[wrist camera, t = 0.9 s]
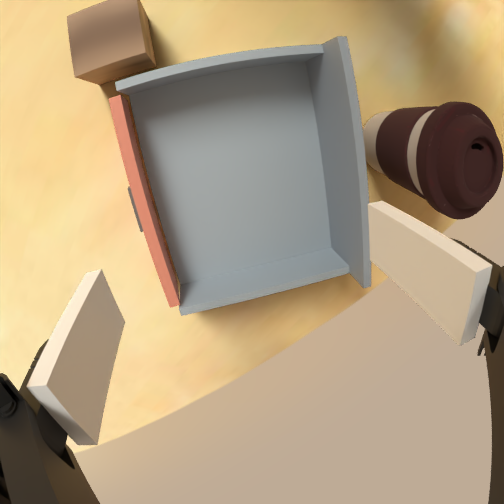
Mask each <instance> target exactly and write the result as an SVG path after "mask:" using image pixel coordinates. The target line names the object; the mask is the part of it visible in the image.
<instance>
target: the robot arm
mask: <svg viewBox="0 0 504 504" xmlns="http://www.w3.org/2000/svg"><path fill="white" fill-rule="evenodd" d="M368 219H369V244H370V261H372V262H373V263H374V264H375V265H376V266H377V267H378V268H379V269H380V270H382V271H383V272H384V273H385V274H386V275H387V276H388V277H389V278H390V279H391V280H392V281H393V282H394V283H396V284H397V285H398V286H399V287H400V288H401V289H402V290H403V291H404V292H405V293H406V294H407V295H408V296H409V297H410V298H411V299H412V300H414V301H415V302H416V303H417V304H418V305H419V306H420V307H421V308H422V309H423V310H424V311H425V312H426V313H427V314H428V315H429V316H430V317H431V318H432V319H433V320H434V321H435V322H436V323H437V324H438V325H439V326H440V327H441V328H442V329H443V330H444V331H445V332H446V333H447V334H448V335H449V336H450V337H451V338H452V339H453V340H454V341H455V342H456V344H458V346H461V345H463V344H464V343H466V342H468V341H470V340H471V339H473V338H475V335H476V332H477V329H478V325H479V323H480V324H481V325H482V326H483V327H484V328H485V331H484V334H483V337H482V340H481V344H480V346H479V349H478V356H480V354H481V352H482V349H483V348H485V354H484V355H485V356H486V361H487V369H488V377H489V387H490V400H491V415H492V416H491V417H492V465H491V482H490V494H489V502H488V504H504V266H503V267H500V266H499V265H497V264H496V263H494V262H492V261H491V260H489V259H487V258H486V257H485V256H483V255H481V254H480V253H477V252H476V251H475V250H474V249H472V248H469V246H467V245H465V244H464V243H462V242H461V241H458V240H455V239H452V238H449V237H447V236H445V235H443V234H442V233H440V232H438V231H437V230H435V229H433V228H431V227H430V226H428V225H426V224H424V223H423V222H421V221H419V220H417V219H416V218H414V217H412V216H410V215H408V214H406V213H405V212H403V211H401V210H399V209H397V208H395V207H393V206H392V205H390V204H388V203H386V202H384V201H378V202H374V203H369V204H368ZM124 324H125V321H124V318H123V316H122V314H121V312H120V310H119V308H118V306H117V304H116V301H115V299H114V297H113V295H112V292H111V290H110V288H109V286H108V283H107V281H106V279H105V276H104V274H103V271H102V269H99V270H96V271H92V272H88V273H86V274H85V276H84V278H83V279H82V281H81V283H80V284H79V286H78V288H77V289H76V291H75V293H74V295H73V296H72V298H71V300H70V301H69V303H68V305H67V307H66V309H65V310H64V312H63V314H62V316H61V318H60V319H59V321H58V323H57V325H56V327H55V329H54V331H53V333H52V334H51V336H50V338H49V339H48V340H47V341H46V342H45V343H44V344H43V345H42V346H41V347H40V349H39V350H38V352H37V354H36V356H35V358H34V359H35V361H33V362H32V364H31V366H30V367H31V369H29V371H28V373H27V375H26V377H25V379H24V381H23V383H22V386H21V388H20V390H19V391H18V390H17V389H16V387H15V386H14V385H13V384H12V382H11V381H10V380H9V378H8V377H7V376H6V375H5V374H3V373H0V504H100V503H99V501H98V499H97V498H96V496H95V494H94V492H93V491H92V489H91V487H90V485H89V484H88V482H87V480H86V478H85V476H84V474H83V472H82V470H81V468H80V466H79V464H78V463H77V460H76V458H75V456H74V454H73V452H72V450H71V449H70V448H69V446H67V445H66V440H67V435H69V436H70V438H71V439H72V440H73V441H74V442H75V443H76V444H77V445H98V439H99V433H100V428H101V422H102V417H103V412H104V407H105V402H106V397H107V393H108V388H109V383H110V379H111V375H112V370H113V366H114V362H115V358H116V354H117V350H118V346H119V342H120V339H121V335H122V331H123V327H124Z"/></svg>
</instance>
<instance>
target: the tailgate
mask: <svg viewBox="0 0 504 504" xmlns="http://www.w3.org/2000/svg"><path fill="white" fill-rule="evenodd" d="M109 103H110V108H111V112H112V117H113V121H114V126H115V130H116V134H117V139H118V143H119V147H120V151H121V155H122V159H123V162H124V166H125V170H126V174H127V177H128V181H129V185H130V187H128V191H129V195H130V198H131V202H132V205H133V208H134V212H135V215H136V218H137V221H138V225H139V228H140V231H141V232H143V231H144V235H145V238H146V241H147V244H148V247H149V250H150V253H151V256H152V259H153V262H154V265H155V267H156V270H157V273H158V276H159V279H160V282H161V284H162V287H163V290H164V293H165V295H166V298H167V301H168V303H169V306H170V307H174V306H177V305H180V301H179V293H178V286H177V280H176V277H175V274H174V271H173V268H172V265H171V262H170V258H169V255H168V252H167V249H166V246H165V243H164V239H163V236H162V233H161V230H160V226H159V223H158V220H157V216H156V213H155V209H154V206H153V202H152V199H151V195H150V192H149V188H148V184H147V180H146V177H145V173H144V169H143V165H142V161H141V157H140V153H139V149H138V145H137V141H136V137H135V133H134V128H133V124H132V120H131V115H130V111H129V106H128V101H127V100H126V99H125V98H124V97H122V96H121V95H118V96H115V97H112V98H109Z"/></svg>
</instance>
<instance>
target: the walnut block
mask: <svg viewBox="0 0 504 504" xmlns="http://www.w3.org/2000/svg"><path fill="white" fill-rule="evenodd" d="M67 23H68V33H69V41H70V49H71V56H72V63H73V69H74V75H75V77H76V78H79V79H82V80H86V81H89V82H92V83H95V84H98V85H101V84H104V83H106V82H109V81H112V80H115V79H118V78H121V77H124V76H127V75H130V74H134V73H137V72H140V71H144V70H147V69H151V68H154V67H157V66H156V61H155V56H154V50H153V45H152V40H151V34H150V29H149V23H148V17H147V14H146V12H145V10H144V8H143V6H142V4H141V2H140V0H107V1H104V2H102V3H99V4H96V5H94V6H91V7H88V8H86V9H83V10H81V11H79V12H76V13H74V14H71V15H69V16H67Z"/></svg>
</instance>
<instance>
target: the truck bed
mask: <svg viewBox="0 0 504 504" xmlns="http://www.w3.org/2000/svg"><path fill="white" fill-rule="evenodd" d="M115 86H116V91H118V92H121V93H124V94H126V95H129V98H130V103H131V108H132V112H133V117H134V121H135V126H136V130H137V134H138V138H139V143H140V147H141V151H142V155H143V159H144V163H145V167H146V171H147V174H148V178H149V182H150V186H151V189H152V193H153V197H154V200H155V204H156V207H157V211H158V214H159V218H160V221H161V224H162V228H163V231H164V234H165V238H166V241H167V244H168V248H169V251H170V254H171V257H172V260H173V263H174V266H175V269H176V273H177V276H178V279H179V282H180V305H179V310H180V313H181V316H182V315H187V314H191V313H196V312H200V311H204V310H209V309H213V308H217V307H221V306H226V305H230V304H234V303H238V302H242V301H246V300H250V299H254V298H258V297H262V296H266V295H270V294H274V293H278V292H282V291H286V290H289V289H293V288H297V287H301V286H304V285H308V284H312V283H316V282H319V281H323V280H326V279H330V278H334V277H337V276H341V275H344V274H348V273H350V274H351V275H352V276H353V277H354V278H355V279H356V281H357V282H358V283H359V284H360V285H361V286H362V287H363V288H367V287H370V286H371V261H370V244H369V219H368V204H369V193H368V179H367V167H366V157H365V147H364V138H363V130H362V122H361V115H360V108H359V101H358V95H357V88H356V82H355V77H354V71H353V66H352V60H351V55H350V50H349V46H348V41H347V37H335V38H333V39H331V40H329V41H327V42H326V43H324V44H320V45H300V46H286V47H275V48H266V49H257V50H250V51H243V52H236V53H230V54H224V55H218V56H213V57H207V58H202V59H198V60H193V61H188V62H184V63H180V64H176V65H172V66H168V67H164V68H160V69H156V70H153V71H149V72H146V73H142V74H139V75H135V76H132V77H129V78H126V79H123V80H120V81H117V82H115Z"/></svg>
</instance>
